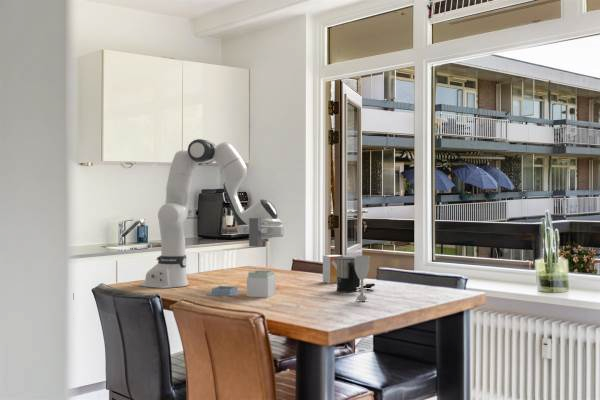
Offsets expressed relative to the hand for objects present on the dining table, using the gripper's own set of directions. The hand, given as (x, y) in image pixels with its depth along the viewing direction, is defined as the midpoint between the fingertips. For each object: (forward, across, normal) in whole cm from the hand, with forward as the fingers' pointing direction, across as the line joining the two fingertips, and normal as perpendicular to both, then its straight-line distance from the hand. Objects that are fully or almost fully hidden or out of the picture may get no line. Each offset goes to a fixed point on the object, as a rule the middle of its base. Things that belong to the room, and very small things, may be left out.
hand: (254, 230), depth 268 cm
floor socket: (-1, -14, +28) cm, 31 cm away
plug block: (-1, 0, +6) cm, 7 cm away
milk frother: (-24, +39, +27) cm, 53 cm away
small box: (-45, +24, +27) cm, 58 cm away
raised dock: (-1, +3, +28) cm, 28 cm away
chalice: (+1, +47, +27) cm, 54 cm away
